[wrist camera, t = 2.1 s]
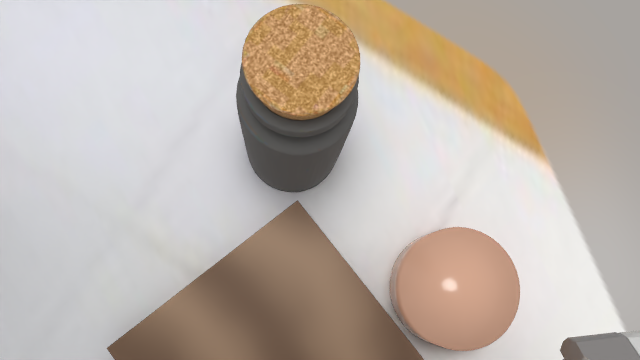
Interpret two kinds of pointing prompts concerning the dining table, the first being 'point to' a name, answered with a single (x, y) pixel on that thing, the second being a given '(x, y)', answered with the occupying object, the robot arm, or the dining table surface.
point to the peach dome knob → (455, 289)
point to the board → (271, 306)
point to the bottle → (297, 94)
